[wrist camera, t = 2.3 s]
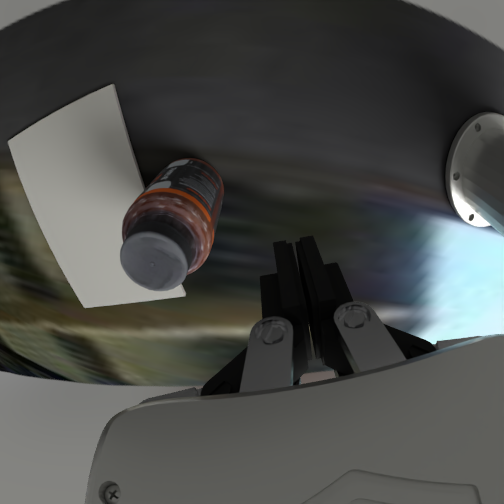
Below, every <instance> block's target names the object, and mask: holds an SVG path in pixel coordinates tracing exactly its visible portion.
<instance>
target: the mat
mask: <svg viewBox="0 0 504 504" xmlns="http://www.w3.org/2000/svg"><path fill="white" fill-rule="evenodd" d="M8 144H9V147H10V150H11V154H12V157H13V160H14V163H15V166H16V168H17V171H18V174H19V177H20V180H21V182H22V185H23V187H24V190H25V193H26V195H27V198H28V200H29V202H30V205H31V207H32V209H33V212H34V214H35V216H36V219H37V221H38V223H39V225H40V227H41V230H42V232H43V234H44V236H45V238H46V240H47V242H48V244H49V246H50V248H51V250H52V252H53V254H54V256H55V258H56V260H57V262H58V263H59V265H60V267H61V269H62V271H63V273H64V274H65V276H66V278H67V280H68V281H69V283H70V285H71V287H72V288H73V290H74V292H75V293H76V295H77V297H78V298H79V300H80V302H81V303H82V305H83V306H84V308H88V307H98V306H107V305H116V304H125V303H134V302H142V301H150V300H158V299H166V298H174V297H182V296H185V295H186V293H185V291H184V288H183V286H182V284H180V285H179V286H177V287H176V288H174V289H171V290H168V291H153V290H148V289H146V288H144V287H141V286H139V285H138V284H136V283H135V282H133V281H132V280H131V279H130V278H129V277H128V276H127V274H126V273H125V271H124V269H123V267H122V265H121V262H120V250H121V247H122V244H123V239H122V224H123V219H124V217H125V214H126V213H127V211H128V209H129V208H130V206H131V205H132V204H133V203H134V201H135V200H136V199H137V197H138V196H139V195H140V194H141V193H142V192H143V191H144V190H145V186H144V183H143V180H142V177H141V174H140V171H139V168H138V164H137V161H136V158H135V155H134V152H133V149H132V145H131V142H130V139H129V135H128V132H127V129H126V125H125V122H124V118H123V115H122V111H121V108H120V104H119V100H118V97H117V93H116V89H115V85H114V84H111V85H109V86H107V87H104V88H102V89H100V90H98V91H95V92H93V93H91V94H89V95H87V96H85V97H83V98H81V99H79V100H77V101H75V102H73V103H71V104H69V105H67V106H65V107H63V108H61V109H60V110H58V111H56V112H54V113H52V114H51V115H49V116H47V117H45V118H44V119H42V120H40V121H39V122H37V123H35V124H34V125H32V126H30V127H29V128H27V129H26V130H24V131H23V132H21V133H19V134H18V135H16V136H15V137H13V138H12V139H11V140H9V141H8Z"/></svg>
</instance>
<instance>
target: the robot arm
mask: <svg viewBox="0 0 504 504" xmlns="http://www.w3.org/2000/svg"><path fill="white" fill-rule="evenodd" d="M445 179H446V190H447V194H448V199H449V201H450V203H451V206H452V208H453V209H454V211H455V212H456V214H457V215H458V216H459V217H461V218H462V219H463V220H464V221H465V222H466V223H468V224H470V225H473V226H475V227H485V226H490V225H491V226H492V227H494V228H495V229H496V230H497V231H498V232H499V233H500V234H501V235H502V236H504V116H503V115H501V114H498V113H495V112H483V113H479V114H477V115H475V116H473V117H471V118H470V119H469V120H468V121H467V122H465V123H464V125H463V126H462V127H461V128H460V130H459V131H458V133H457V135H456V136H455V138H454V140H453V142H452V145H451V148H450V151H449V154H448V159H447V164H446V175H445ZM295 243H296V251H297V258H298V265H299V271H298V267H297V263H296V259H295V255H294V251H293V247H292V243H288V244H287V243H286V240H285V241H279V242H274V243H273V246H274V252H275V259H276V266H277V273H275V274H270V275H264V276H260V286H261V302H262V318H263V319H262V320H260V321H259V322H257V323H256V324H255V325H254V326H253V327H252V330H251V332H250V337H249V343H248V347H246V348H245V349H244V350H243V351H242V352H241V353H240V354H239V355H237V356H236V357H235V358H234V359H233V360H232V361H231V362H230V363H228V364H227V365H226V366H225V367H224V368H223V369H222V370H220V371H219V372H218V373H217V374H216V375H215V376H214V377H212V378H211V379H210V380H209V381H208V382H207V383H206V384H205V385H204V386H203V388H201V389H197V390H196V388H190V389H186V390H182V391H178V392H174V393H170V394H165V395H162V396H157V397H152V398H148V399H146V400H143V401H142V402H141V403H140V404H139V405H136V406H133V407H131V408H128V409H125V410H123V411H122V412H120V413H118V414H116V415H115V416H114V417H112V418H111V419H110V420H109V422H108V423H107V424H106V426H105V428H104V430H103V432H102V434H101V436H100V439H99V442H98V444H97V448H96V451H95V454H94V458H93V462H92V466H91V470H90V475H89V480H88V486H87V492H86V499H85V504H504V334H495V335H488V336H475V337H468V338H461V339H452V340H443V341H437V343H436V344H433V345H432V344H431V343H430V342H428V341H426V340H424V339H421V338H419V337H416V336H414V335H411V334H408V333H406V332H403V331H401V330H398V329H395V328H393V327H390V326H388V325H385V324H383V323H382V322H381V320H380V319H379V317H378V316H377V314H376V313H375V311H374V310H373V309H372V308H371V307H370V306H369V305H367V304H365V303H362V302H354V301H353V299H352V296H351V294H350V292H349V289H348V287H347V284H346V282H345V280H344V277H343V275H342V273H341V270H340V268H339V266H338V264H337V263H330V264H325V265H324V264H323V261H322V258H321V256H320V253H319V250H318V248H317V245H316V242H315V240H314V237H313V236H307V237H302V238H300V241H299V242H295ZM299 272H300V275H299ZM308 322H309V323H308ZM309 327H310V332H311V336H312V341H313V346H314V351H315V355H316V359H318V358H321V359H322V363H323V365H326V366H328V367H330V368H332V369H334V373H335V377H336V378H332V379H327V380H322V381H317V382H311V383H306V384H301V379H300V377H301V376H302V375H303V374H304V372H305V371H306V370H307V369H308V360H312V353H311V343H310V333H309Z"/></svg>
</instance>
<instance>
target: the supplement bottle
mask: <svg viewBox="0 0 504 504" xmlns="http://www.w3.org/2000/svg"><path fill="white" fill-rule="evenodd" d="M223 196H224V188H223V183H222V180H221V177H220V176H219V174H218V173H217V171H216V170H215V169H214V168H213V167H212V166H211V165H209V164H208V163H206V162H204V161H202V160H199V159H195V158H183V159H179V160H176V161H174V162H172V163H170V164H169V165H168V166H166V167H165V168H164V169H163V170H162V171H161V172H160V173H159V174H158V175H157V176H156V178H155V179H154V180H153V181H152V182H151V183H150V184H149V185H148V186H147V188H146V189H145V190H144V191H143V192H142V193H141V194H140V195H139V196H138V197H137V199H136V200H135V201H134V203H133V204H132V205H131V206H130V208H129V209H128V211H127V213H126V214H125V217H124V219H123V224H122V239H123V244H122V247H121V250H120V262H121V265H122V267H123V269H124V271H125V273H126V274H127V276H128V277H129V278H130V279H131V280H132V281H133V282H135V283H136V284H138V285H139V286H141V287H144V288H146V289H148V290H153V291H168V290H171V289H174V288H176V287H177V286H179V285H180V284H181V283H182V282H183V281H184V279H185V277H186V275H187V274H189V273H192V272H194V271H195V270H196V269H198V268H199V267H200V266H201V265H202V264H203V263H204V262H205V260H206V259H207V257H208V255H209V253H210V250H211V247H212V244H213V240H214V236H215V231H216V227H217V223H218V219H219V216H220V211H221V207H222V203H223Z"/></svg>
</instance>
